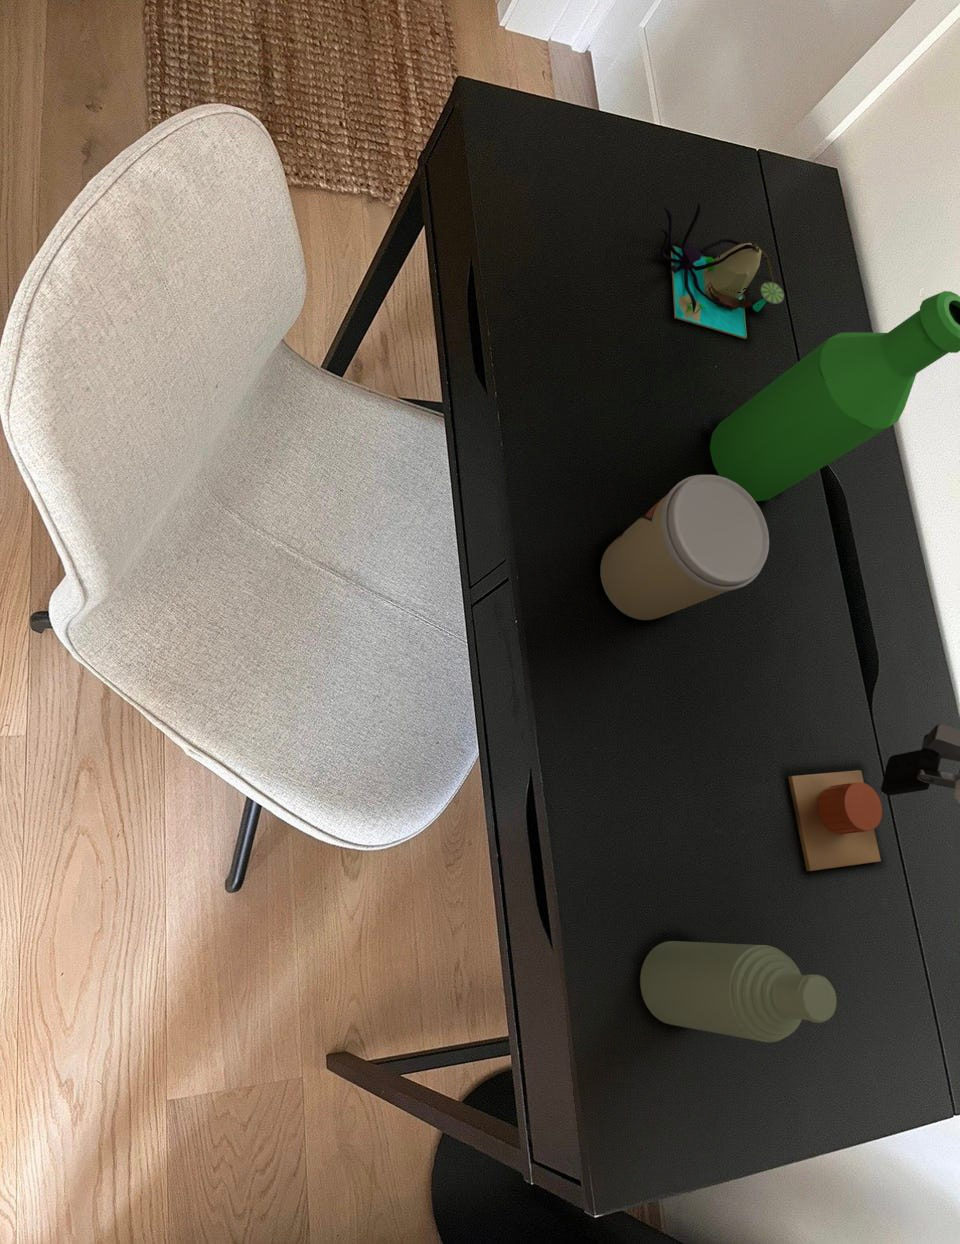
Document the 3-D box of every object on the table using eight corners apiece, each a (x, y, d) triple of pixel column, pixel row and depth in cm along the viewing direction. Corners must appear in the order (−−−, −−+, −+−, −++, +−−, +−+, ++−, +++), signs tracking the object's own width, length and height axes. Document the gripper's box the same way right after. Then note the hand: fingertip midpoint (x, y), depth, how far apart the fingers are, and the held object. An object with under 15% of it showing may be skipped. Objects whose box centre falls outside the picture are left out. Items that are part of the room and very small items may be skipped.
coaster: (877, 861, 82) (881, 861, 81) (806, 871, 78) (810, 871, 78) (857, 770, 84) (861, 770, 83) (787, 776, 80) (791, 776, 80)
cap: (849, 785, 82) (876, 780, 79) (858, 832, 81) (886, 829, 78) (813, 787, 81) (840, 783, 78) (822, 835, 79) (849, 832, 77)
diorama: (766, 345, 95) (803, 314, 90) (640, 308, 90) (672, 273, 85) (758, 254, 98) (793, 220, 94) (636, 213, 93) (667, 174, 88)
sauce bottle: (717, 1004, 72) (873, 1025, 58) (657, 1038, 69) (805, 1070, 55) (688, 928, 73) (834, 931, 58) (628, 960, 70) (766, 971, 56)
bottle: (690, 431, 87) (894, 268, 65) (754, 413, 91) (967, 253, 69) (730, 515, 86) (951, 377, 64) (793, 493, 90) (1022, 356, 68)
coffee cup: (666, 523, 83) (751, 466, 73) (696, 622, 81) (788, 578, 71) (578, 533, 79) (654, 475, 69) (608, 637, 77) (691, 593, 67)
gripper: (1053, 759, 53) (837, 794, 68) (1255, 902, 56) (1007, 906, 71) (1071, 652, 56) (861, 709, 71) (1261, 793, 59) (1022, 819, 74)
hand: (934, 807), depth 71 cm, fingers open, 9 cm apart
